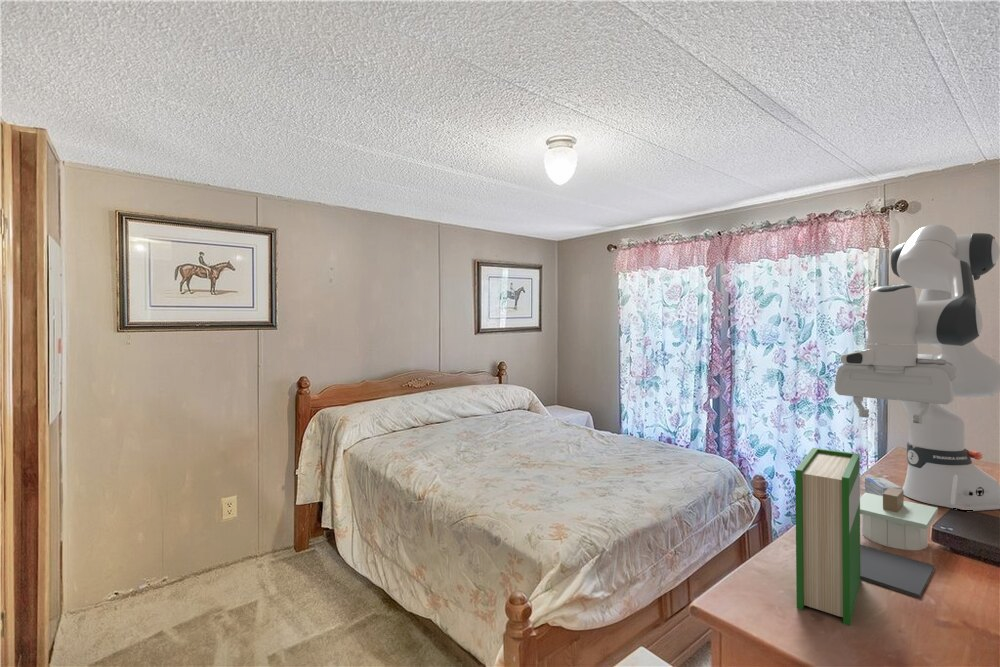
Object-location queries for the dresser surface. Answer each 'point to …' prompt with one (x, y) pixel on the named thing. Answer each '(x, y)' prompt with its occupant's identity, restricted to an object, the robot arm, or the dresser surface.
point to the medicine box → (878, 485)
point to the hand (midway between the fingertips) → (890, 420)
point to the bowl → (894, 533)
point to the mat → (894, 571)
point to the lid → (897, 509)
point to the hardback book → (828, 531)
